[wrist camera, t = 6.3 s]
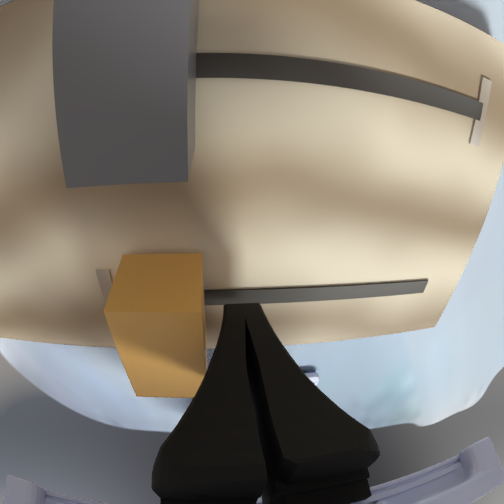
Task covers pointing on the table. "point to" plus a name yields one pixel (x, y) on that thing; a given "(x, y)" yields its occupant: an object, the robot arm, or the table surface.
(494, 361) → the table surface
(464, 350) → the table surface
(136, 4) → the charcoal fader knob
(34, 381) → the table surface
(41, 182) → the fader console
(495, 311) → the table surface
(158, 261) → the amber fader knob
